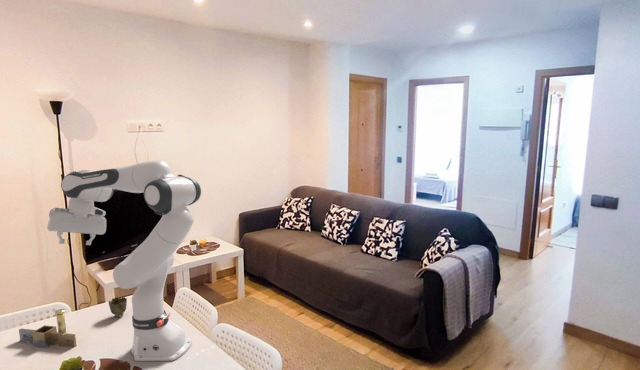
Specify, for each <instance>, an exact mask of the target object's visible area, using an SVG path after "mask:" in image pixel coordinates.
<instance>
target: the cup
mask: <svg viewBox="0 0 640 370" xmlns="http://www.w3.org/2000/svg"><path fill="white" fill-rule="evenodd" d="M127 300H128V298H127V297H126V296H122V297H121V296H119V297H116V296H115V297H114V298H111V300H109V301H108V306H109V310H110V312H111V313H112V314H113V315H114V317H115V318H116V319H117V318H122V317H123V316H124V314H125V312H126V310H127V306H128V305H127V303H128V302H127Z"/></svg>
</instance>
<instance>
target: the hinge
mask: <svg viewBox="0 0 640 370" xmlns="http://www.w3.org/2000/svg"><path fill="white" fill-rule="evenodd" d="M18 333H19V341H20V342H25V343H26V342H27V343H33V347H37V348H45V349H46V348H48V347H49V346H51V345H53V346H60V347H61V346H62V347H70V348H75V347H77V340H76V339H77V338H76V334H75V333H67V332H66V333H58V329H57V326H53V325H46V324H45V325H42V326H40V327H39V328H37V329H30V328H20V329H19V328H18Z"/></svg>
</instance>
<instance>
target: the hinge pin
mask: <svg viewBox="0 0 640 370" xmlns="http://www.w3.org/2000/svg"><path fill="white" fill-rule="evenodd" d="M65 313H66V309H65V308H59V309H57V310H55V311H54V315H56V317H55V318H56V323H57V326H56V327H57V332H58V333H67V325H66V317H65Z"/></svg>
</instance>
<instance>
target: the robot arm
mask: <svg viewBox="0 0 640 370" xmlns="http://www.w3.org/2000/svg"><path fill="white" fill-rule="evenodd" d="M60 188H61V191H62V192H63V193H64V195H65V196H66V198H69V200H68V205H67V208H64V207H54V208H51V209H50V210H49V213H48V217H49V220H48V224H47V227H46V228H47V231H48V232H56V236H57V238H58V239H59V241H58V244H59V245H60V244H61V245H62V244H65V242H66V239H65V238H63V233H73V234H87V235H89V237H90V238H89V240H85V246H91V245H92V241H93V240H95V237H96V235H101V236H102V235H104V234H106V232H107V218H105V216H106V215H107V214H106V211H105V210H103V209H100V208H98V207H96V206H95V202H100V203H103V202H104V203H105V202H107V201H108V200H110V199H111V198H112V197H113V194H114V190H118V191H123V192H128V193H133V194H141V193H143V199H144V202H145V203H146V204H147V206H148V207H149V208H150V209H151V210H153V212H154V214H156V215H159V216H161V218H160V220H159V221H158V223H156V225H155V226H154V228H153V229H152V231H151V232H150V233H149V235H148V236H147V237H146V238H145V239H144V241H143V242H142V243H140V244H139V245H138V246H137V247H136V248H135V249H134V250H133V251H131V253H130V254H129V255H128V256H127V257H126V258H125V259H124V260H123V261H121V262H120V263H119V264H117V265H115V266H114V268H113V272H112V278H113V281H114V284H116V285H117V287H119V288H120V289H122V290H129V289H130V290H131V289H133V288H136V289H135V290H134V292H133V295H132V297H131V307H132V308H131V309H132V317H131V321H132V322H131V323H132V327H133V338H132V339H133V341H132V347H131V350H130V351H131V354H132V355H133V360H134V361H135V362H150V361H151V362H154V361H155V362H156V361H157V362H161V361H163V362H165V361H166V362H167V361H175V360H178V359H179V358H180V357H182V356H183V355H184V354H185V353H186V352H187V351H188V350H189V349H190V348H191V346H192V344H193V342H192V338H189V337H186V335H185V331H184V329H183V328H182V327H180V326H179V325H177V324H176V323H174V322H173V321H172V320H171V319H170V317H171V312H169V313H168V314H167V312H166V310H165V306H164V305H165V304H164V289H165V284H166V280H167V277H168V273H169V271H170V270H171V267H172V266H173V265H174V260H175V259H174V258H175V256H174V253H175V251H176V250H177V249H178V248H179V247H180V245H181V244H182V243H183V242H184V240H185V239H186V237H187V235H188V234H189V232H190V231H191V228H192V226H193V224H194V221H195V220H194V219H195V218H194V215H193V213H192V211H191V210H189V208H188V207H187V206H191V205H194V204H195V203H196V202H198V201H199V200H200V198H201V195H202V189H201V185H200V183H198V181H197V180H195V179H194V178H192V177H188V176H185V175H182V174H178V175H174V173H173V172H172V169H171V166H170V165H169V164H168V163H166V162H165V161H162V160H149V161H144V162H138V163H136V164H131V165H126V166H121V167H115V168H107V169H99V170H96V171H95V170H94V171H93V170H89V169H88V170H87V169H86V170H85V169H82V170H77V171H76V170H75V171H71V172H69V173H67V174H66V175H65V176H64V177H63V178H62V180H61V184H60Z"/></svg>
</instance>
